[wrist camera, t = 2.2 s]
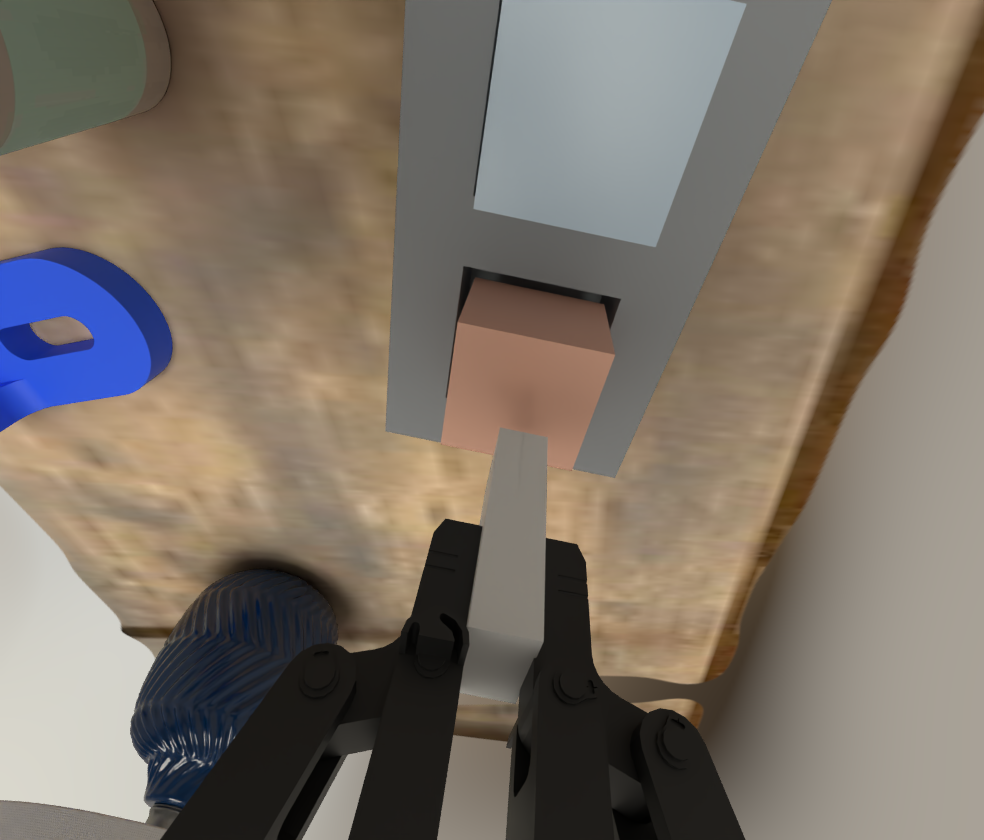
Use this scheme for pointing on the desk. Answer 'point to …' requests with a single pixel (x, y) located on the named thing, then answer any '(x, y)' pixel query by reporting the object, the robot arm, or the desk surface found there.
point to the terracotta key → (526, 369)
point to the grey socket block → (555, 250)
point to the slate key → (599, 109)
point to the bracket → (80, 365)
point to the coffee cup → (77, 66)
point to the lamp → (197, 699)
